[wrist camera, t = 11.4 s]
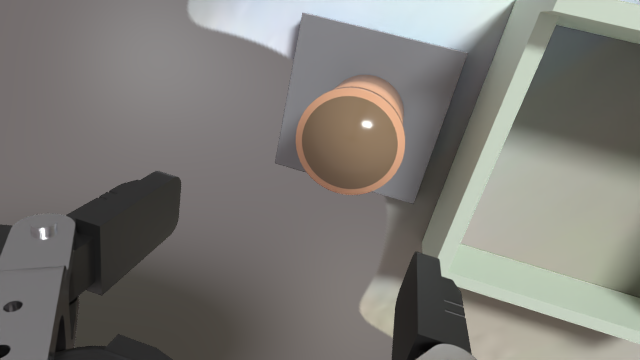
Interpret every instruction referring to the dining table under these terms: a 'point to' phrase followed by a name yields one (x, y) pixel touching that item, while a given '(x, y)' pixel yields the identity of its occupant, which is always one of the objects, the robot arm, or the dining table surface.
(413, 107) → the slate board
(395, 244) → the dining table surface
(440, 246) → the pale green open box
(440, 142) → the dining table surface
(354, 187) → the terracotta pot
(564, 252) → the dining table surface
